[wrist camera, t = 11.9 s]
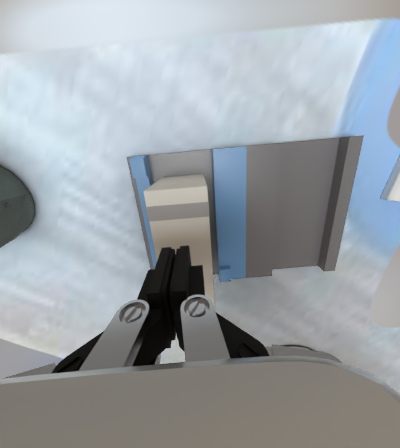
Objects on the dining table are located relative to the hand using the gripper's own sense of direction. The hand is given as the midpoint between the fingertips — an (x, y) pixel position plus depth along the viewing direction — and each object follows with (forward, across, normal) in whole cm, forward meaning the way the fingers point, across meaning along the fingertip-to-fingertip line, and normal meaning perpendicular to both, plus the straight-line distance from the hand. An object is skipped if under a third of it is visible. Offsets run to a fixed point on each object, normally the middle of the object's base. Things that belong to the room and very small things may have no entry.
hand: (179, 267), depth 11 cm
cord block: (+9, 0, 0) cm, 9 cm away
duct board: (+10, -6, 0) cm, 11 cm away
